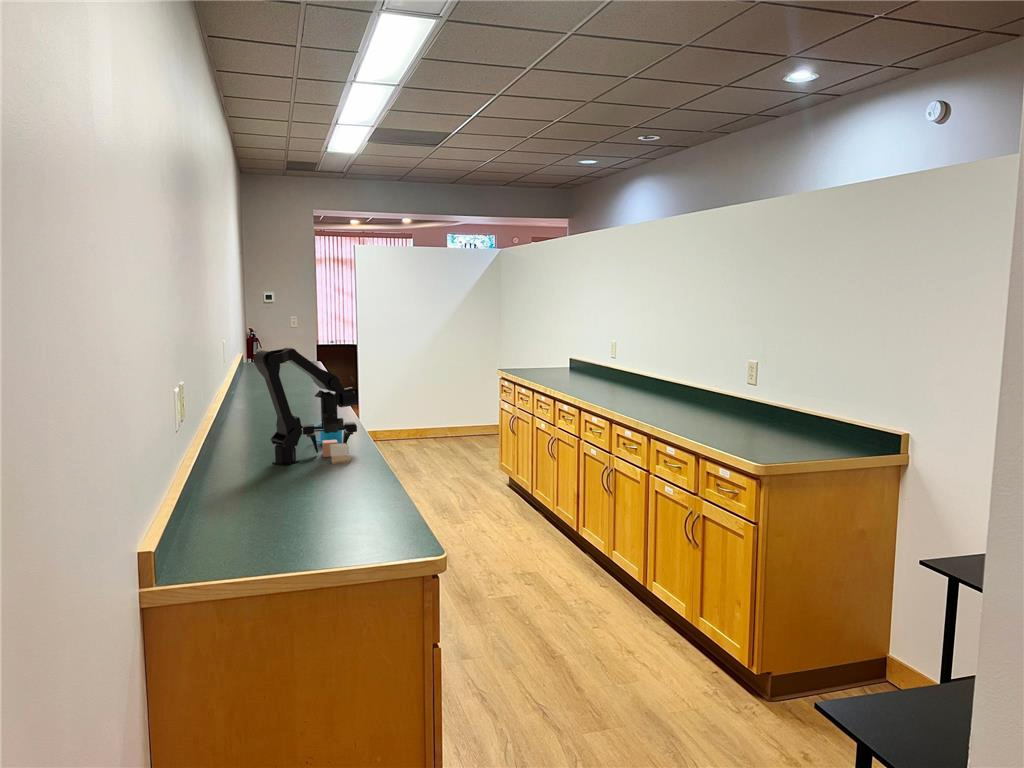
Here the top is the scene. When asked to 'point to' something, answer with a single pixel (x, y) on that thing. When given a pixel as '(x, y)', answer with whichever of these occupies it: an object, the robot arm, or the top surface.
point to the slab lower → (340, 459)
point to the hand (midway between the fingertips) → (330, 451)
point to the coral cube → (327, 447)
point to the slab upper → (339, 449)
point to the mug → (330, 436)
